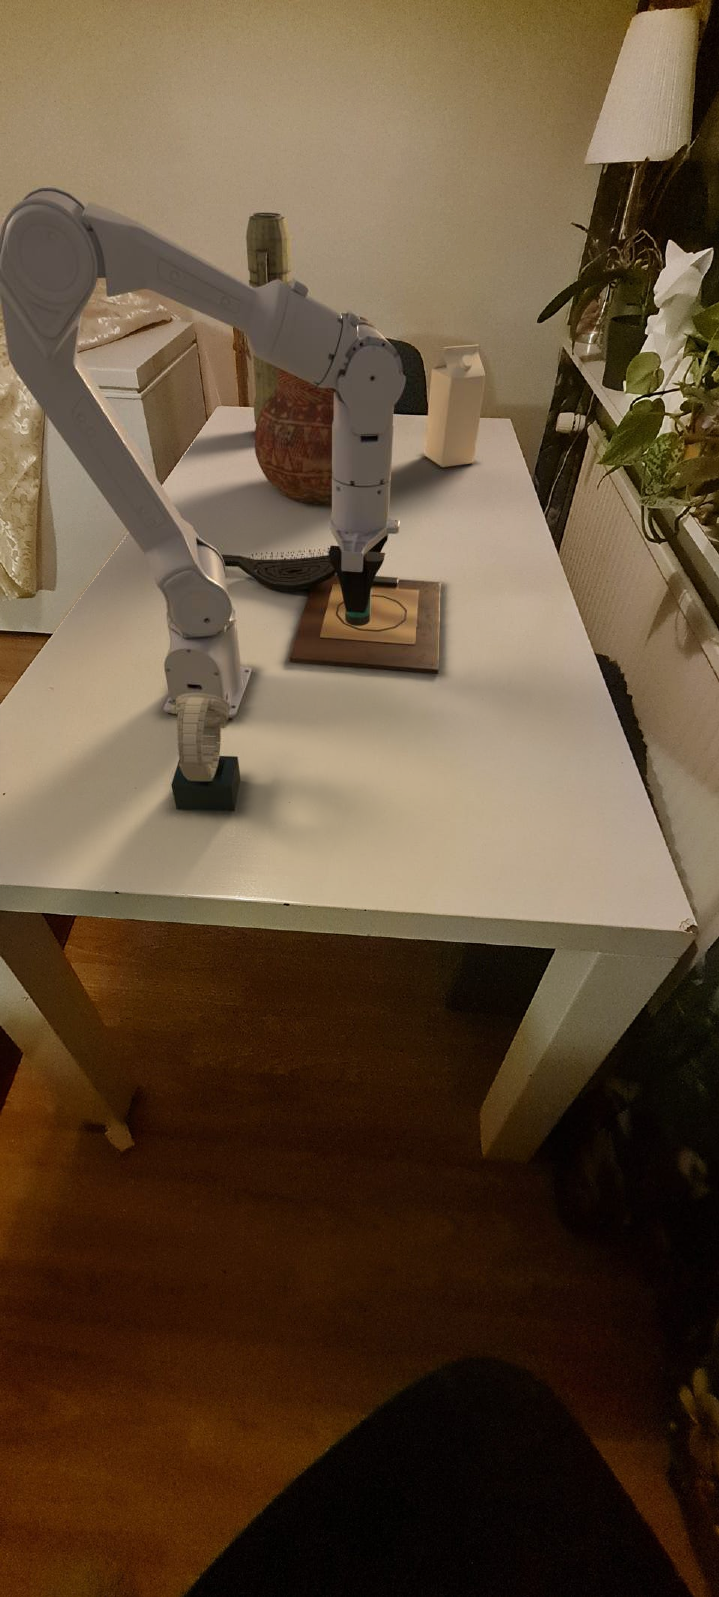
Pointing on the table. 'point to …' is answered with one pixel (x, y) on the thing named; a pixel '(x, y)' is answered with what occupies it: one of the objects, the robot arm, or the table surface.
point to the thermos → (266, 265)
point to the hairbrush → (285, 570)
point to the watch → (203, 755)
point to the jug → (297, 438)
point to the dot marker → (359, 616)
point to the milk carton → (455, 406)
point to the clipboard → (372, 627)
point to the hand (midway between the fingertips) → (357, 603)
